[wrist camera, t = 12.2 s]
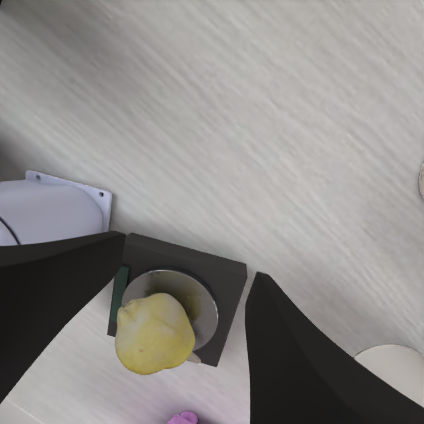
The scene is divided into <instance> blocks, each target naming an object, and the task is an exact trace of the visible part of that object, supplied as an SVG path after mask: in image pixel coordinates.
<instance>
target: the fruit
mask: <svg viewBox="0 0 424 424" xmlns="http://www.w3.org/2000/svg"><path fill="white" fill-rule="evenodd" d="M117 326H118V327H117V332H116V336H115V348H116V353H117V356H118V358H119V360H120V362H121V363H122V364H123V365H124V366H125V367H126V368H127V369H128V370H130V371H132V372H135V373H137V374H141V375H149V374H153V373H156V372H158V371H161V370H163V369H170V368H174V367H177V366H179V365H181V364H182V363H184V362H185V361H186V360H187V361H190V362H194V363H200V362H201V359H200V358H199V357H198V356H197V355H195V354H194V353H193V352H192V350H193V348H194V345H195V336H194V332H193V329H192V327H191V324H190V322H189V319H188V317H187V315H186V312H185V310H184V308H183V307H182V305H181V304H180V303H179V302H178V301H177V300H176V299H175V298H174V297H172V296H171V295H169V294H167V293H157V294H153V295H151V296H149V297H146V298H140V299H134V300H133V299H132V300H130V301H129V302H128V303H127V304H126V305H124V306H122V307H120V308H119V310H118V315H117Z"/></svg>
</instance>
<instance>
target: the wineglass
mask: <svg viewBox="0 0 424 424" xmlns="http://www.w3.org/2000/svg"><path fill="white" fill-rule="evenodd" d="M419 189H420V193H421V195H422V197H423V199H424V163H423V165H422V167H421V170H420V174H419Z"/></svg>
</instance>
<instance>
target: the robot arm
mask: <svg viewBox="0 0 424 424" xmlns="http://www.w3.org/2000/svg"><path fill="white" fill-rule="evenodd" d="M39 176H40V178H39ZM101 193H103V194H104V196H102V195H101ZM111 204H112V193H111V192H110V191H107V190H104V189H100V188H96V187H92V186H89V185H85V184H81V183H77V182H74V181H70V180H66V179H63V178H59V177H55V176H51V175H48V174H44V173H40V172H37V171H33V170H28V171H26V172H25V180H14V181H2V182H0V404H1V402H2V401H3V400H4V399H5V397H6V396H7V395H8V394H9V392H10V391H11V390H12V389H13V387H14V386H15V385H16V383H17V382H18V381H19V380H20V378H21V377H22V376H23V375H24V373H25V372H26V371H27V370H28V368H29V367H30V366H31V365H32V364H33V362H34V361H35V360H36V359H37V358H38V356H39V355H40V354H41V353H42V352H43V350H44V349H45V348H46V347H47V346H48V345H49V343H50V342H51V341H52V340H53V339H54V338H55V336H56V335H57V334H58V333H59V332H60V331H61V330H62V328H63V327H64V326H65V325H66V324H67V323H68V322H69V321H70V320H71V319H72V318H73V317H74V316H75V315H76V314H77V313H78V312H79V311H80V310H81V309H82V308H83V307H84V306H85V305H86V304H87V303H88V302H89V301H91V300H92V299H93V298H94V297H95V296H96V295H97V294H98V293H99V292H100V291H101V290H102V289H103V288H104V287H105V286H106V285H107V284H108V283H109V282H110V281H111V280H112V278H113V277H114V276H115V275H116V273H117V272H118V271H119V270H120V268H121V267H122V259H123V252H124V245H125V237H126V234H124V233H120V232H117V231H109V222H110V213H111ZM108 231H109V232H108ZM245 329H246V340H247V351H248V361H249V372H250V424H424V407H422V406H421V405H419V404H417V403H416V402H414V401H413V400H411V399H410V398H408V397H407V396H405V395H403V394H402V393H400V392H399V391H397V390H396V389H395V388H393V387H392V386H390V385H389V384H388V383H386V382H385V381H383V380H382V379H380V378H379V377H378V376H376V375H375V374H373V373H372V372H371V371H369V370H368V369H367V368H365V367H364V366H363V365H361V364H360V363H359V362H357V361H356V360H355V359H354V358H352V357H351V356H350V355H349V354H347V353H346V352H345V351H344V350H342V349H341V348H340V347H339V346H337V345H336V344H335V343H334V342H333V341H332V340H330V339H329V338H328V337H327V336H326V335H325V334H324V333H323V332H322V331H320V330H319V329H318V328H317V327H316V326H315V325H314V324H313V323H312V322H311V321H310V320H309V319H308V318H307V317H306V316H305V315H304V314H303V313H302V312H301V311H300V310H299V309H298V308H297V306H296V305H295V304H294V303H293V302H292V301H291V300H290V299H289V298H288V296H287V295H286V294H285V293H284V292H283V291H282V289H281V288H280V287H279V286H278V285H277V283H276V282H275V281H274V280H273V279H272V278H271V277H270V276H269V275H268V274H264V273H261V272H257V273H256V276H255V278H254V281H253V284H252V287H251V290H250V293H249V295H248V298H247V301H246V306H245Z"/></svg>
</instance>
